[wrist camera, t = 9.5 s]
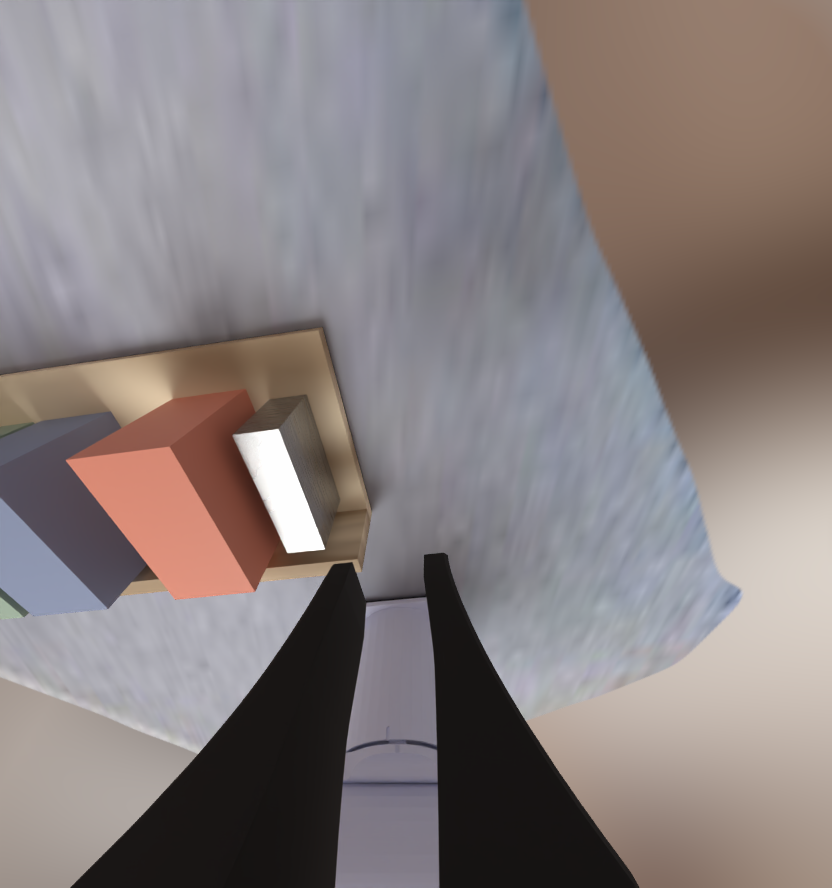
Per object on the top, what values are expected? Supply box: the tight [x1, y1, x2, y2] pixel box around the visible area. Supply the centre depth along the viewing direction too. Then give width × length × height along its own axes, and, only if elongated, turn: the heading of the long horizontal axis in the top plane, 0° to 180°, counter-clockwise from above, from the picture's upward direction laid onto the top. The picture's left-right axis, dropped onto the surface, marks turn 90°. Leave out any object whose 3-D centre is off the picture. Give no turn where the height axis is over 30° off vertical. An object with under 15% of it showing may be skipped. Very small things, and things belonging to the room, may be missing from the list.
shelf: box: [0, 327, 372, 596], centre depth 17 cm, size 12×22×7 cm, turn 98°
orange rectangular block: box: [66, 389, 281, 600], centre depth 16 cm, size 8×4×6 cm, turn 8°
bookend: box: [232, 394, 340, 553], centre depth 17 cm, size 7×2×4 cm, turn 8°
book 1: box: [0, 411, 147, 616], centre depth 17 cm, size 8×4×6 cm, turn 8°
